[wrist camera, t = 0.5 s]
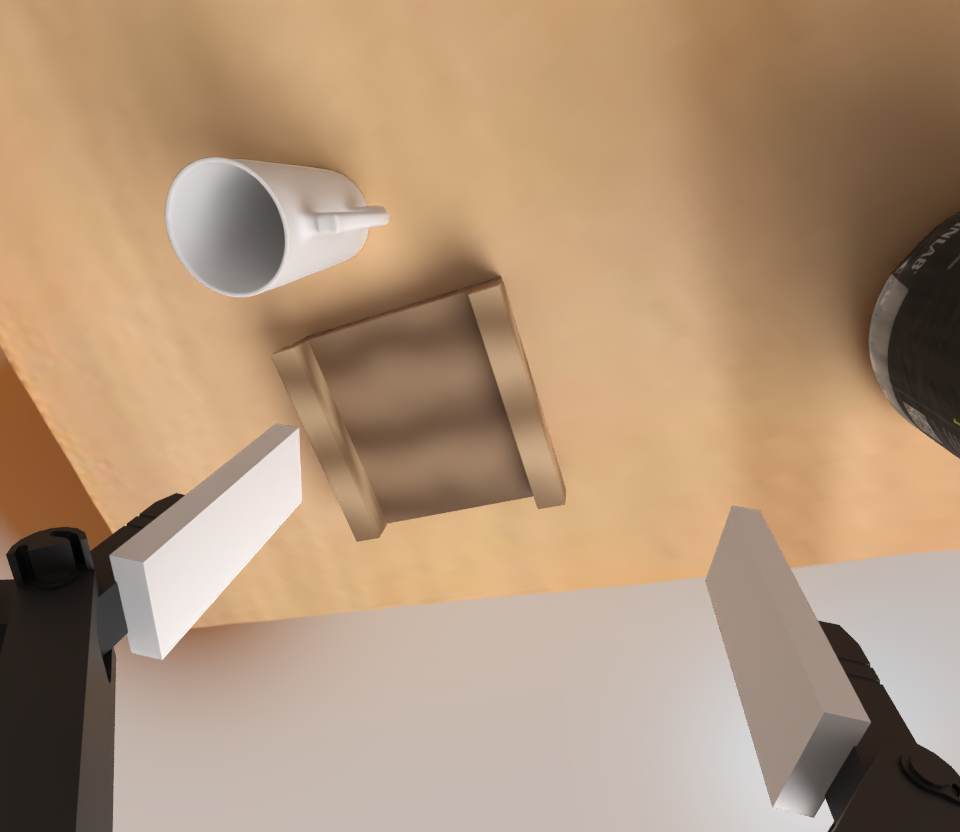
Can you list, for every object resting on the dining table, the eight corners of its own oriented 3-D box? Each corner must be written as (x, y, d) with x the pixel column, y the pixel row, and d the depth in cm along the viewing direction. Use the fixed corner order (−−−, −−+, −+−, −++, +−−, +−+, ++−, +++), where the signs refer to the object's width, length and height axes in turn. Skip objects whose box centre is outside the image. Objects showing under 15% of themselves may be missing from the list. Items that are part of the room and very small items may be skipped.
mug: (292, 268, 40) (183, 298, 29) (275, 168, 38) (148, 161, 27) (423, 263, 38) (359, 294, 27) (414, 158, 36) (339, 147, 25)
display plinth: (301, 338, 42) (270, 355, 38) (508, 274, 38) (498, 285, 33) (376, 511, 47) (356, 541, 43) (567, 473, 43) (565, 504, 39)
